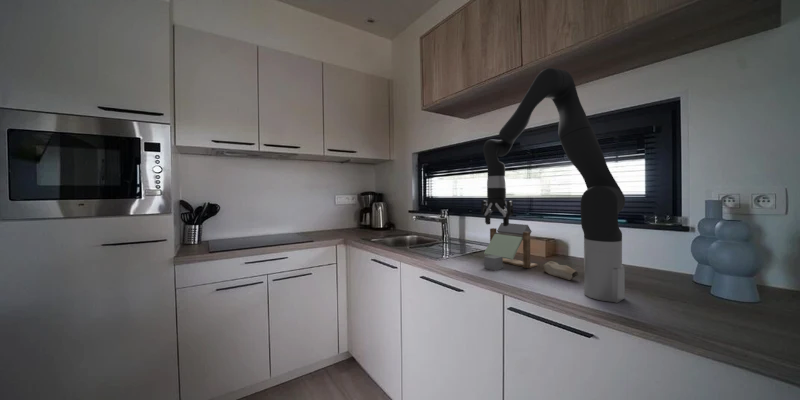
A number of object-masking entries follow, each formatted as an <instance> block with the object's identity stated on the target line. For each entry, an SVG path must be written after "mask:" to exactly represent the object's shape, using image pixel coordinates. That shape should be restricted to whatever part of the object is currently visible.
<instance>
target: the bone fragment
mask: <svg viewBox="0 0 800 400" xmlns="http://www.w3.org/2000/svg"><path fill="white" fill-rule="evenodd" d="M542 265H543V270H544V273H546V274H548V275H551V276H553V277H556V278H557V277H558V278H561V279H564V280H568V281H571V280H572V279H574V278H576V277H577V276H579V273H578V271H577V270H576V269H574V268H572V267H570V266H568V265H567V264H565V265H564V264H563V265H562V264H559V263H558V262H557V261H556V262H555V261H552V260H551V261H547V262H545V264H542Z"/></svg>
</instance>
